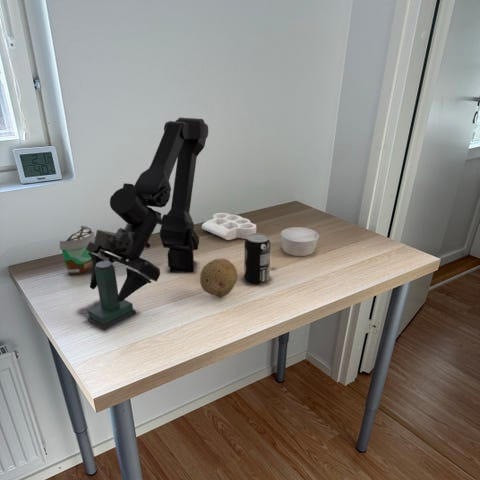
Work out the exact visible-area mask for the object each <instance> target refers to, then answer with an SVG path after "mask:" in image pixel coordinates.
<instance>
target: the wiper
mask: <svg viewBox="0 0 480 480" xmlns="http://www.w3.org/2000/svg"><path fill="white" fill-rule="evenodd" d="M115 267H116V266H114V265H113V263H112V262H110V261H101V262H98V263H97V264H96V267H95V273H96V280H97V291H98V297H99V302H100V304H101V305H99V306H97V307H94V308H92V309H90V310H88V313H89V317H87V316H86V320H87V322H89V323H91V324H92V325H94V326H96V327H98V328H100V329H102V330H103V331H106V330H108V329H109V328H112V327H113V326H114V327H115V325H118V324H120V323H121V322H123V321H125V320H127V319H129V318H131V317H132V316H134V315H136V314H137V312H136V310H135V309H134V306H133V302H130V301H128V300H126V299H124V300H123V301H122V302H119V301H117V298H118V295H119V291H118V282H117V276H116V268H115Z"/></svg>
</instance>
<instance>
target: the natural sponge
mask: <svg viewBox="0 0 480 480" xmlns="http://www.w3.org/2000/svg"><path fill="white" fill-rule="evenodd" d="M199 275H200V277H199V283H200V287H201V288H202V290H203V291H205V292H206V293H207V294H210V295H212V296H215V297H217V298H224V297H226V296H227V295H229V294H230V293H231V292H232V290H233V289H234V287H235V286H236V284H237V281H238V271H237V268H236V266H235V265H234V264H233V263H232V261H230V260H229V259H227V258H222V257H221V258H215V259H213V260H210V261H209V262H207V263H206V264H205V265H203V267H202V270H201V271H200V274H199Z"/></svg>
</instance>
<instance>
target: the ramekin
mask: <svg viewBox="0 0 480 480" xmlns="http://www.w3.org/2000/svg"><path fill="white" fill-rule="evenodd" d="M280 238H281V246H282V250H283V251H284V253H285V254H287V255H290V256H293V257H307V256H310V255H312V254H313V253H314V252H315V250H316V248H317V243H318V241H319V238H320V235H319V233H318V232H317V231H315V230H313V229H311V228H307V227H301V226H300V227H297V226H296V227H287V228H285V229H282V231H281V232H280Z"/></svg>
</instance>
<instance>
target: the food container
mask: <svg viewBox="0 0 480 480" xmlns="http://www.w3.org/2000/svg"><path fill="white" fill-rule="evenodd" d="M95 237H96V233H95V232H94V231H93V229H92V228H91V227H89V226H86V225H80V229H79V230H78V231H77V232H75V233H73V234H71V235H70V236H69V237H68V238H67V239H66V240H60V241H59V250H61V253H62V255H63V259H64V260H63V261H64V263H65V267H66V271H67V274H68V275H69V276H79V275H85V274H87V273H90V272H92V267H93V262H92V259H91V256H90V255H88V252H89V251H88V250H86V248H87V246H88V244H89V242H91V241H94V240H95ZM90 253H91V252H90Z"/></svg>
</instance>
